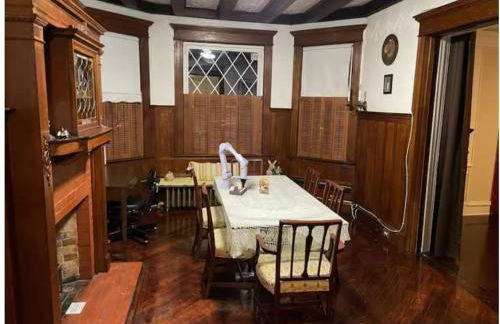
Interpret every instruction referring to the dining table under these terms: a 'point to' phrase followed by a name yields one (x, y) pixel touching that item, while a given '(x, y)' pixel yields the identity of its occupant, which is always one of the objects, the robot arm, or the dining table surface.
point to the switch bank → (238, 191)
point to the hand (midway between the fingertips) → (243, 186)
